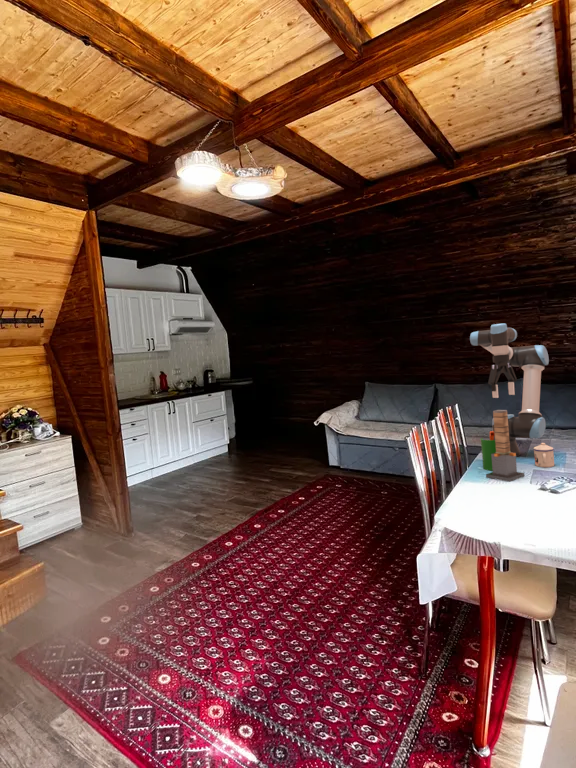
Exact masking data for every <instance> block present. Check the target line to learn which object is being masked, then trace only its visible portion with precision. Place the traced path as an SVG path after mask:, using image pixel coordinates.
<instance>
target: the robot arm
mask: <svg viewBox="0 0 576 768" xmlns="http://www.w3.org/2000/svg"><path fill="white" fill-rule="evenodd" d="M517 337H518V332H517V330H516V329H514V328H512V327H508V325H507V323H496V324H495V323H493V324H491V326H490V329H487V330H477V331H473V332H471V333H470V336H469V341H470V344H471V346H481V347H482V348H483V349H485V350H487V351H488V352H490V353H491V354H492V363H494V364H491V366H490V372H489V377H488V382H487V383H488V385H490V386H491V394H492V398H493V399H494V398H495V399H498V398H499V387H498V386H499V385H498V384H497V383H498V381H499V379H500V377H501V374H504V376H505V377H506V379H507V381H508V382H507V390H508V395H509V396H511V395H512V396H515V395H516V394H515V391H516V390H515V383H516V382H517V379H518V378H517V376H516V374H515V370H514V369H513V367H516V368H517V367H520V368H521V369H522V370H523V383H522V384H523V385H522V399H521V400H522V401H521V411H519V412H518V416H515V414H511V413H510V414H508V413H507V415H508V426H509V427H508V429H509V441H510V451H511V452H513V453H516V457H519V456H521V449H520V448H519V446H518V443H517V439H518V438H523V439H532V440H533V439H540V438H542V437H543V436H544V434H545V432H546V427H547V426H546V425H547V424H546V419H545V417H543V415H542V413H541V412H540V401H541V400H540V399H541V383H542V381H541V379H542V372H543V370H545V368H546V367H545V366H548V365H549V362H550V359H549V354H548V350H547V348H546V347H545V346H544V345H542V344H540V345H539V344H535V345H527V346H526V345H525V346H524V345H523V346H514V347H510V346H509V343H512V342H514V341H516V339H517ZM491 421H492V423H491V424H492V425H491V426H492V431H494V432H495V430H494V417H493V418H492V420H491ZM494 440H495V433H494Z"/></svg>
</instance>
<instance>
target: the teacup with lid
mask: <svg viewBox="0 0 576 768" xmlns="http://www.w3.org/2000/svg"><path fill="white" fill-rule="evenodd" d="M554 450H555V449H554V447H553V446H549V445H548V444H546V443H545V442H541V443H540V444H538V445H537V446H534V447H533V454H534V455H533V456H534V465H535V466H536V467H539V468H551V467H553V468H554V466H555V456H554Z"/></svg>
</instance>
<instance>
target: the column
mask: <svg viewBox="0 0 576 768" xmlns="http://www.w3.org/2000/svg"><path fill="white" fill-rule="evenodd" d="M507 414H508V410H507V409H496V410H493V411H492V415H493V416H492V417H493V418H494V430H495V432H494V433H495V443H496V453H500V454H501V455H507V454H510V453H511V451H510V441H509V429H508V427H509V426H508V415H507Z"/></svg>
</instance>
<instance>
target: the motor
mask: <svg viewBox="0 0 576 768" xmlns="http://www.w3.org/2000/svg"><path fill="white" fill-rule="evenodd" d="M480 445H481V458H482V469H483V470H486V471H490V472H493V470H492V457H491V454H492V453H496V443H495V440H494V431H493V430H492V431H491V430H490V431H489V439H484V438H483V437H482V438H480Z"/></svg>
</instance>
